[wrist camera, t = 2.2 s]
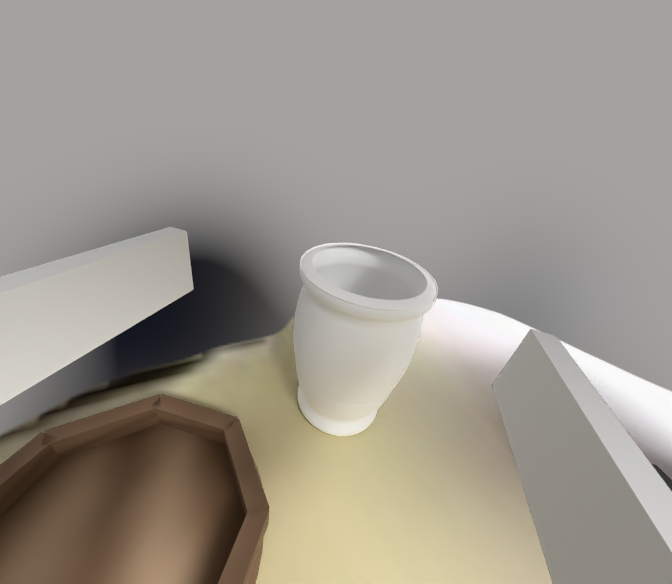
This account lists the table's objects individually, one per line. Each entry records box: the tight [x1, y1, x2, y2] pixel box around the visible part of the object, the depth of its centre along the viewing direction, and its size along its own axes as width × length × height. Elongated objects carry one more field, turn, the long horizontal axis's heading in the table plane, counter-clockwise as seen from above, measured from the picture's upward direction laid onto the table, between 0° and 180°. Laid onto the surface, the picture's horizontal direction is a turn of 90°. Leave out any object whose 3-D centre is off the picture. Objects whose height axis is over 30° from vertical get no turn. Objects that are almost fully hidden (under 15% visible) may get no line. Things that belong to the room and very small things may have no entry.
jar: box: [293, 243, 438, 436], centre depth 23 cm, size 11×10×15 cm
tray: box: [0, 394, 269, 584], centre depth 15 cm, size 17×17×3 cm
